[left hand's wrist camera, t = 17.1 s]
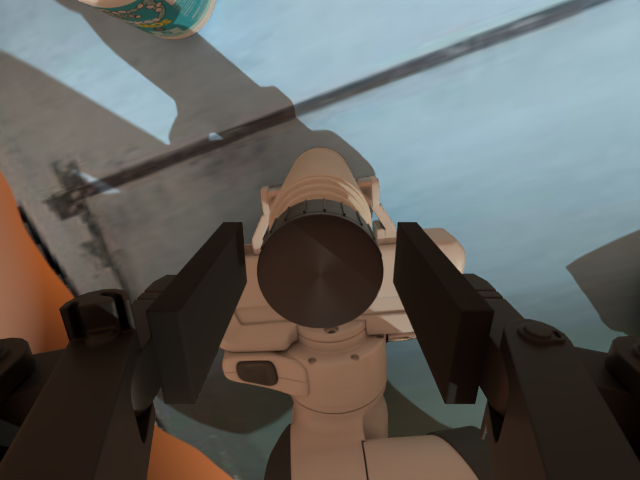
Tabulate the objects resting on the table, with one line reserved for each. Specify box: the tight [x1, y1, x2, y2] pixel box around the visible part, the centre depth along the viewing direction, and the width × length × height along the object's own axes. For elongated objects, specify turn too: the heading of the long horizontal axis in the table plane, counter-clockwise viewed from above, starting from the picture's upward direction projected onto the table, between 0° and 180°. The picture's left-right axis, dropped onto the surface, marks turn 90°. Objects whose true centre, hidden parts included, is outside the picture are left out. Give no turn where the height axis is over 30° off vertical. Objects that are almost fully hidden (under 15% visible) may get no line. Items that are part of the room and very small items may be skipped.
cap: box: [257, 198, 384, 328], centre depth 13 cm, size 5×5×2 cm
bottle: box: [269, 147, 372, 231], centre depth 21 cm, size 5×5×19 cm
